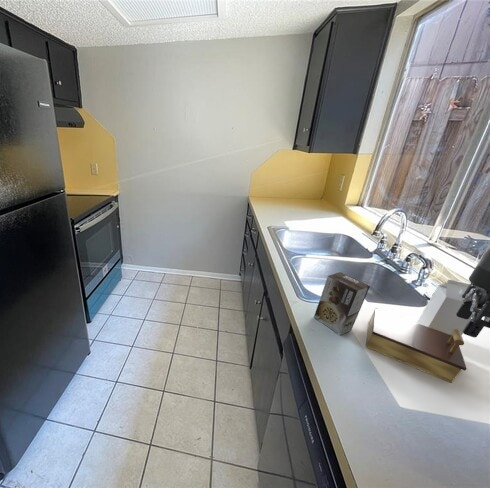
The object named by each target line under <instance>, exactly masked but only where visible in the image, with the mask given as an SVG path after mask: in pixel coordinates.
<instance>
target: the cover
mask: <svg viewBox="0 0 490 488" xmlns="http://www.w3.org/2000/svg"><path fill="white" fill-rule="evenodd" d="M373 312H374V319H373V329H372V334H374V335H377V336H379V337H382V338H384V339H387V340H389V341H392V342H394V343H397V344H399V345H402V346H404V347H407V348H409V349H412V350H414V351H417V352H419V353H422V354H424V355H427V356H429V357H432V358H434V359H437V360H439V361H442V362H444V363H447V364H449V365H452V366H454V367H457V368H460V369H461V371H466V370H467V369H468V368H467V365H466V362H465V359H464V355H463V353H462V350H461V346H464V345H465V341H464V339H463V334H462V335H461V332H460V331H459V330H457V329H453V330H452V331H451V332H452V335H449V334H446V333H444V332H441V331H438V330H435V329H432V328H429V327H426V326H424V325H421V324H418V323H417V322H414V321H412V320H409V319H406V318H404V317H401V316H398V315H395V314H392V313H389V312H387V311H383V310H380V309H378V308H374V310H373Z"/></svg>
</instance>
